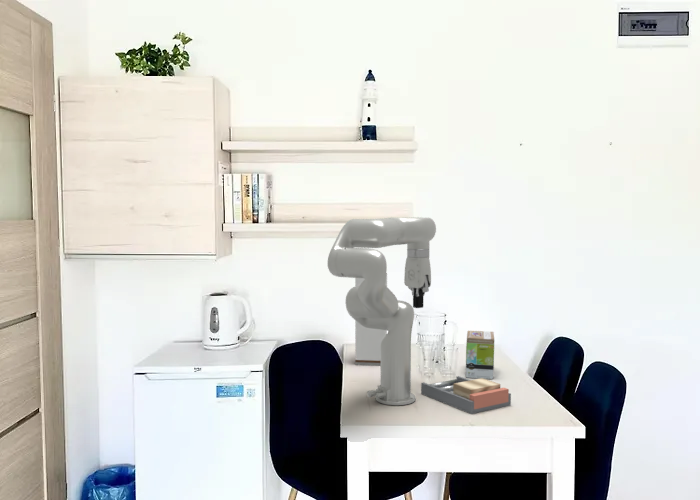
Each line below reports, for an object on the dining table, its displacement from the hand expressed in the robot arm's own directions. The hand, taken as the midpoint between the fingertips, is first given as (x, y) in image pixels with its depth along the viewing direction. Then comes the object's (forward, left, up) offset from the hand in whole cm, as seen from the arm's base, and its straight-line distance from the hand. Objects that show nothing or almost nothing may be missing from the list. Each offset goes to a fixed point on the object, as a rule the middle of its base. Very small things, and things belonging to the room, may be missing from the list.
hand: (418, 307), depth 212 cm
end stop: (+2, -32, -26) cm, 41 cm away
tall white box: (+4, +35, -27) cm, 44 cm away
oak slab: (+2, -27, -23) cm, 36 cm away
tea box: (+28, 0, -27) cm, 39 cm away
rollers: (+2, -20, -26) cm, 33 cm away
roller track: (+2, -21, -27) cm, 34 cm away
